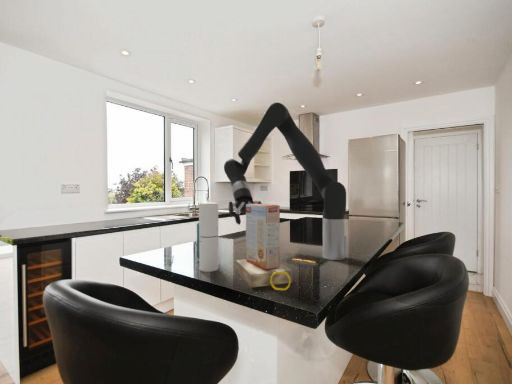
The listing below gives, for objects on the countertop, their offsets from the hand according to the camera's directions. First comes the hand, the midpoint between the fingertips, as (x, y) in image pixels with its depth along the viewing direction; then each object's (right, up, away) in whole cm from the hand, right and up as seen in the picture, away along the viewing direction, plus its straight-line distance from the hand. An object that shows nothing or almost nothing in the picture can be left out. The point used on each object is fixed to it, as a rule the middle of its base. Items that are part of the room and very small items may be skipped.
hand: (250, 222), depth 106 cm
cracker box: (+4, -13, -12) cm, 19 cm away
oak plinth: (+5, -17, -13) cm, 22 cm away
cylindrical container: (-15, -17, -4) cm, 23 cm away
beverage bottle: (-19, -17, +8) cm, 27 cm away
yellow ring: (+10, -17, -25) cm, 32 cm away
